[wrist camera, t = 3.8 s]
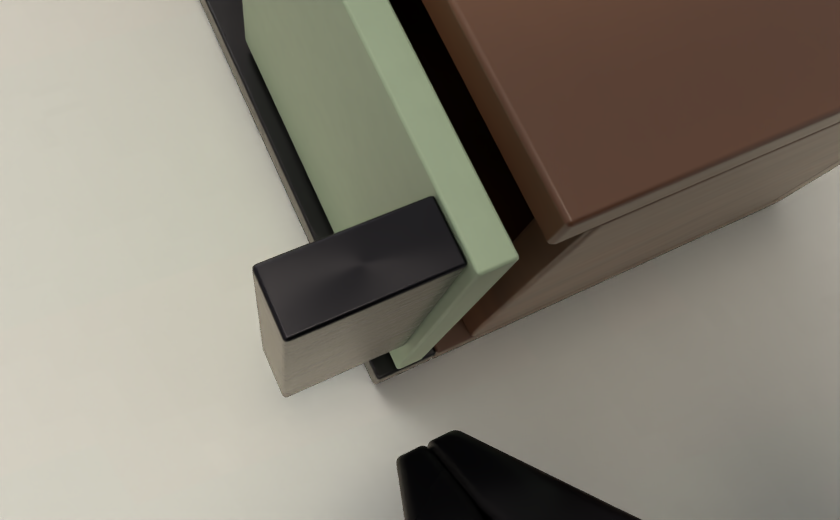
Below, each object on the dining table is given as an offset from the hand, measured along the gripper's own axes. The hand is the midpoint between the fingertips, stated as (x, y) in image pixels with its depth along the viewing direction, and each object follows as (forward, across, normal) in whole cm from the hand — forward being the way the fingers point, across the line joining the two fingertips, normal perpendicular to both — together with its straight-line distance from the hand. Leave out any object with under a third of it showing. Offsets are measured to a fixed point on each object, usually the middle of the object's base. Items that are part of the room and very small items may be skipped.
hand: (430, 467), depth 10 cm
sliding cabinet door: (+8, 0, 0) cm, 9 cm away
